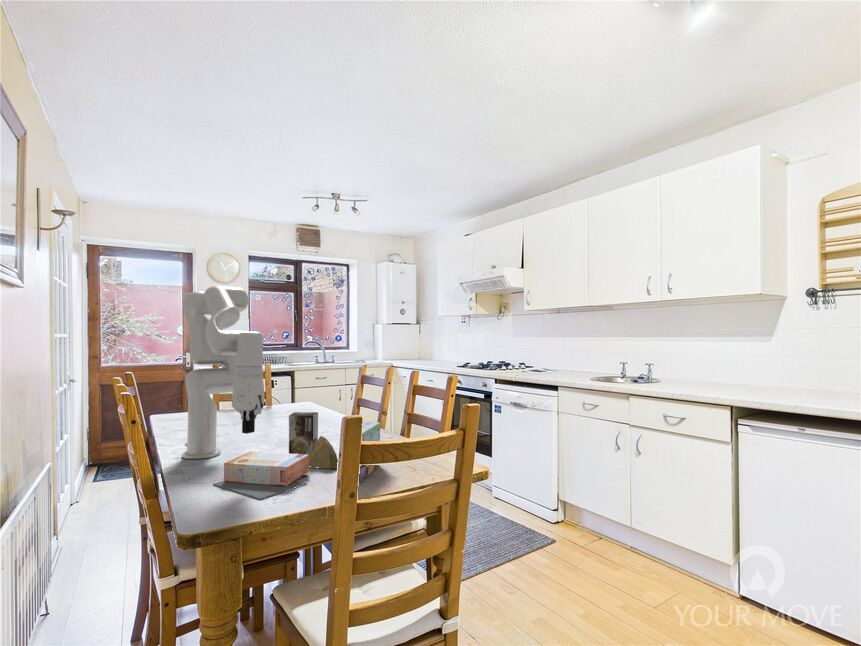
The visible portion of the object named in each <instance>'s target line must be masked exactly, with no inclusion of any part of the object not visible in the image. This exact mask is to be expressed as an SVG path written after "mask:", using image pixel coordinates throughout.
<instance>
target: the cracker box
mask: <svg viewBox="0 0 861 646" xmlns="http://www.w3.org/2000/svg"><path fill="white" fill-rule="evenodd" d="M309 468H310V467H309V455H308V454H289V452H288V453H286V452H267V451H266V452H265V451H264V452H263V451H253V450H252V451H249V452H245V453H243V454H242V455H239V456H237V457H235V458H233V459H230V460H228V461H226V462H224V463H223V481H224V482H238V483H252V484H267V485H281V486H288V485H289V484H291V483H292V482H294V481H295V480H299V479H300V478H301V477H303V476H304V475H306V474H307V473H309V471H310V470H309Z"/></svg>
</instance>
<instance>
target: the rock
mask: <svg viewBox="0 0 861 646" xmlns="http://www.w3.org/2000/svg"><path fill="white" fill-rule="evenodd" d="M337 462H338V463H339V460H338V457H337V453H336V451H335V449H334V447H333V445H332V444H331V443H330V442H329V440H328V439H327V438H326V437H324V436H322V435H320V436H319V437H318V441H317V442H316V444H315V446H314V448H313V450H312V452H311V453H310V455H309V466H311V467H319V468H318V469H323V468H334V470H335V469H338V468H337ZM311 467H310V468H311Z"/></svg>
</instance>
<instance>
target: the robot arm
mask: <svg viewBox="0 0 861 646" xmlns="http://www.w3.org/2000/svg"><path fill="white" fill-rule="evenodd" d="M248 306H249V295H248V293H247V291H246V290H245V289H243V288H242V287H235V286H223V285H215V286H210V287H208V288H207V289H205V291H204V290H203V291H199V290H198V291H192V292H191V291H190V292H188V293H187V294H185V297H184V298H183V304H182V310H183V314H184V317H185V320H186V322H187V327H188V336H189V337H188V338H189V342H188V344H189V359H190V361H191V363H192V364H193V365H198V366H209V365H211V366H212V365H213V366H214V365H215V366H216V365H221V367H215V368H214V367H207V368H197V369H193V370H191V371H190V372H188V373H187V374H186V376H185V387H186V394H187V438H186V439H187V441H186V443H184V446H185V447H186V450H185V451H184V452H182V454H181V456H182V458H183V459H187V460H201V459H203V460H204V459H209V458H213V457H217V456H219V455H220V454H221V452H222V451H221V449H220V448H218V447H217V424H218V423H217V419H218V417H217V416H218V405H217V403H216V402H215V401H214V399H213V398H212V397H211V395H215V394H216V395H217V394H228V393H232V394H231V396H232V397H231V407H232V408H233V409H234V410H236V412H237V413H239V415H240V420H241V422H242V425H241V433H242V434H245V435H247V434H251V433H255V425H256V424H255V422H256V419H257V416H258V415H261V414H262V409H264V406H265V386H264V385H265V384H264V378H263V365H264V364H263V363H264V360H263V359H264V358H263V356H264V355H263V353H264V335H263V334H262V333H261V332H259V331H246V330H226V329H228V328H231V327H233V326H235V324H237V323H238V322H239V320H240V318H241V316H240V315H241V313H242V312H244V311H245V310H247V308H248ZM206 315H208V316H209V315H210V316H211V317H210V318H209V317H207V316H206Z"/></svg>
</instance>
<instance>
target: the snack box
mask: <svg viewBox="0 0 861 646" xmlns="http://www.w3.org/2000/svg"><path fill="white" fill-rule="evenodd" d="M363 423H364V425H363V433H362V441H380V442H381V424H382V423H381V422H379V421H366V422H363ZM378 467H380V464H379V465H361V466H360V474H359V484H360V483H361V482H363V481H364V480H365V479H366V478H367V477H368V476H369V475H370V474H372V473H373V471H375V470H376V469H377V468H378Z"/></svg>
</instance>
